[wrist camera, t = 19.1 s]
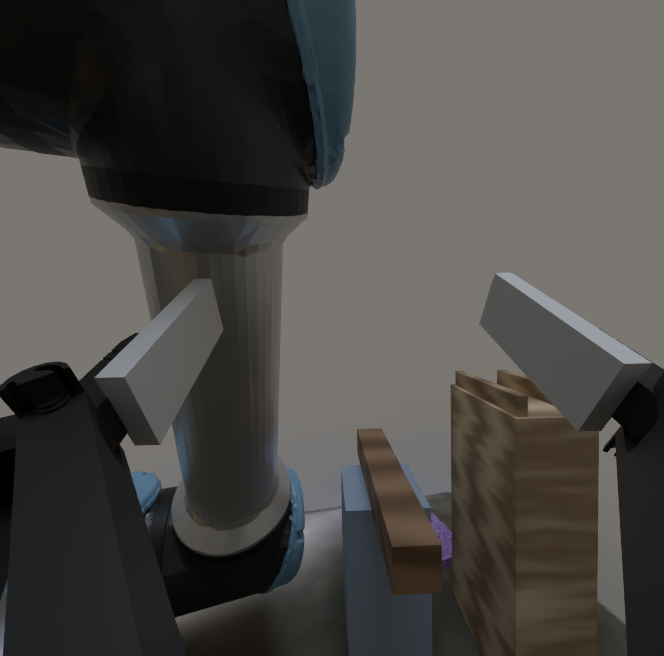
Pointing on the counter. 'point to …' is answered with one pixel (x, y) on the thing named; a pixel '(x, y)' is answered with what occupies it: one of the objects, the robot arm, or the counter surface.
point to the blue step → (377, 582)
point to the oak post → (523, 520)
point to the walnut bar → (399, 519)
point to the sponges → (443, 539)
